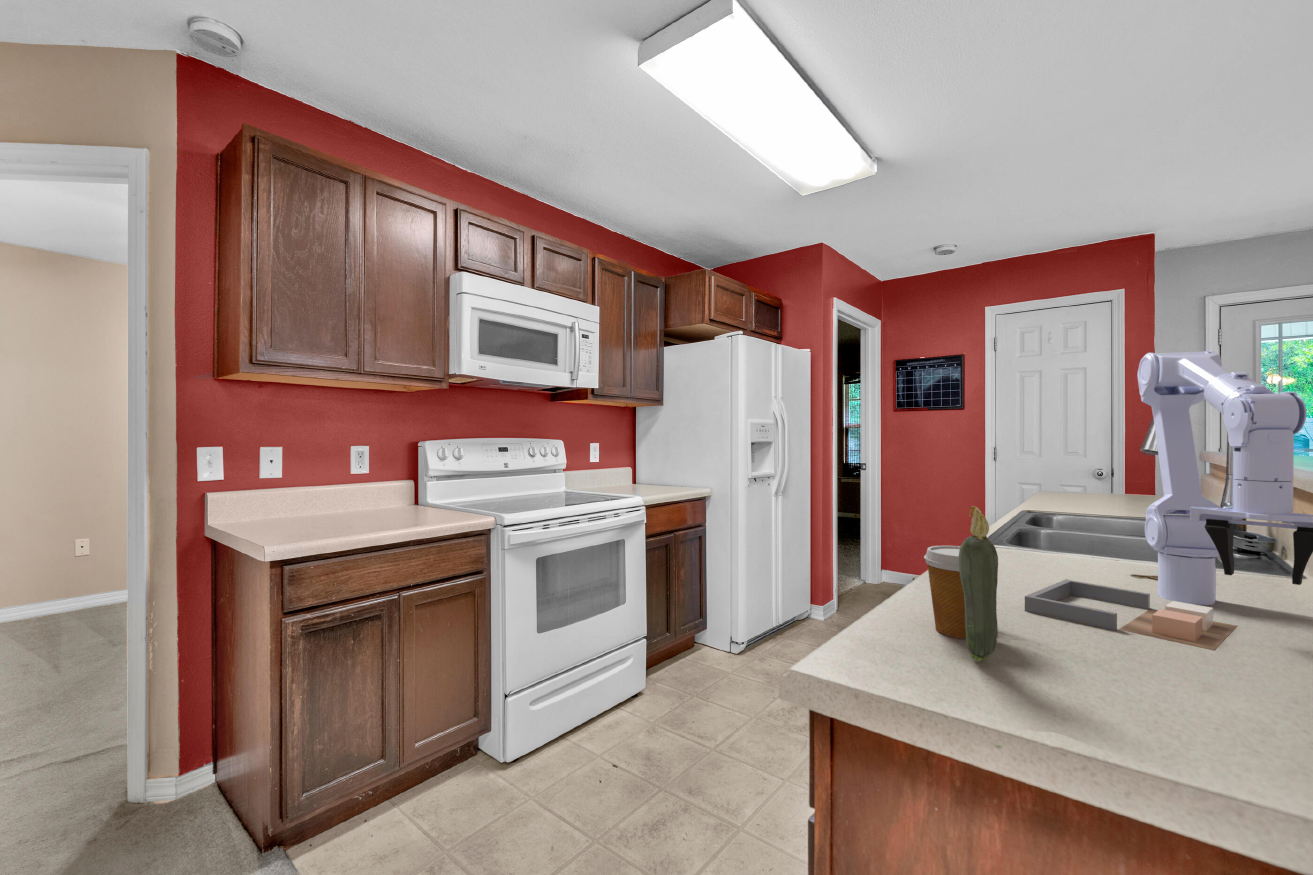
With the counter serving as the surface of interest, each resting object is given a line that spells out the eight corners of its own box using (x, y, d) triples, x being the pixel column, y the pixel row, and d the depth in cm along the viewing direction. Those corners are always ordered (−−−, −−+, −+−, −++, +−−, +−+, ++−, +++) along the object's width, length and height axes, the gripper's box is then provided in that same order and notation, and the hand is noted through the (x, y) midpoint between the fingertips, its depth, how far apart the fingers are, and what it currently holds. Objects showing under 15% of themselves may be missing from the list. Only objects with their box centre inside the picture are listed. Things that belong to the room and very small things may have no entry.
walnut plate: (1149, 616, 92) (1149, 609, 92) (1237, 633, 84) (1237, 625, 84) (1118, 637, 83) (1118, 629, 83) (1214, 659, 75) (1214, 649, 75)
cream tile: (1172, 616, 88) (1172, 600, 88) (1212, 624, 85) (1213, 607, 85) (1165, 622, 86) (1165, 605, 86) (1206, 630, 82) (1206, 613, 82)
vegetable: (1003, 671, 71) (1003, 509, 71) (964, 668, 72) (965, 508, 72) (989, 657, 75) (990, 505, 75) (953, 654, 76) (954, 504, 76)
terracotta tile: (1160, 625, 84) (1160, 608, 84) (1202, 634, 81) (1202, 616, 81) (1152, 632, 82) (1152, 614, 82) (1194, 641, 78) (1195, 622, 78)
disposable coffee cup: (991, 648, 78) (991, 560, 78) (916, 633, 84) (917, 552, 84) (1000, 629, 86) (1000, 549, 86) (931, 617, 92) (931, 542, 92)
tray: (1065, 598, 102) (1066, 579, 102) (1149, 615, 93) (1149, 593, 93) (1024, 617, 92) (1024, 596, 92) (1114, 638, 82) (1114, 614, 82)
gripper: (1185, 478, 83) (1184, 572, 83) (1342, 485, 71) (1341, 594, 71) (1196, 476, 87) (1196, 565, 87) (1346, 482, 75) (1345, 586, 75)
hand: (1262, 578), depth 79 cm, fingers open, 6 cm apart
